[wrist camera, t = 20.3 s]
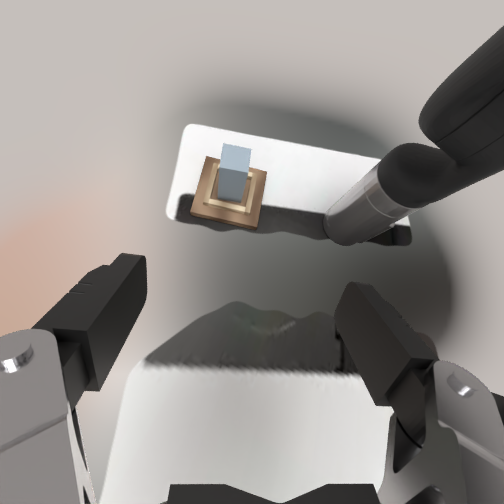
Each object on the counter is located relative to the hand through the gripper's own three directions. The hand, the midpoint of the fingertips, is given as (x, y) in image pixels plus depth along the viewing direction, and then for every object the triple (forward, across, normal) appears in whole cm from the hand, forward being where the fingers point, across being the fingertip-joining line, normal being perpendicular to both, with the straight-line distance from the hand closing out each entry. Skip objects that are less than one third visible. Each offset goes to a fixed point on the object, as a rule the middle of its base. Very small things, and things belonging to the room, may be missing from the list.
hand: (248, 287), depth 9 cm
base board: (+41, +1, +7) cm, 41 cm away
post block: (+40, +1, +6) cm, 40 cm away
